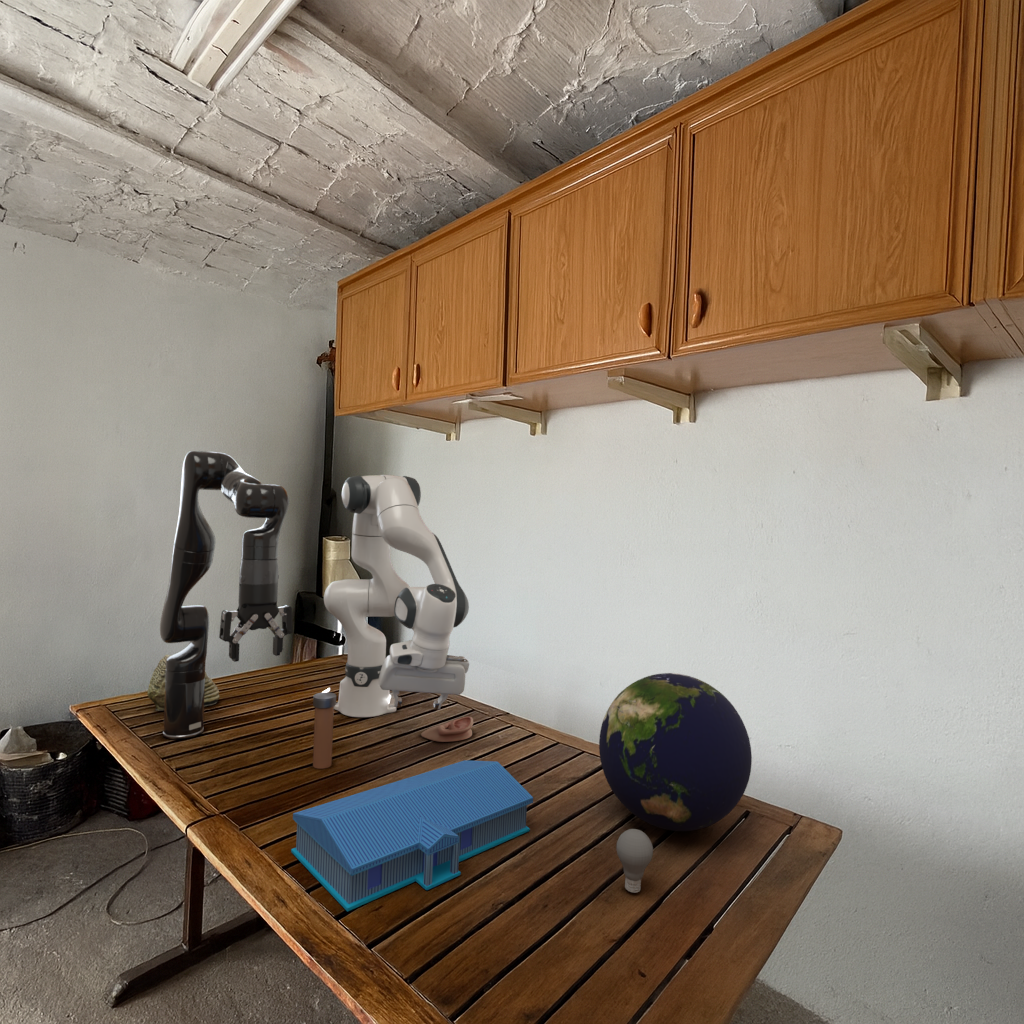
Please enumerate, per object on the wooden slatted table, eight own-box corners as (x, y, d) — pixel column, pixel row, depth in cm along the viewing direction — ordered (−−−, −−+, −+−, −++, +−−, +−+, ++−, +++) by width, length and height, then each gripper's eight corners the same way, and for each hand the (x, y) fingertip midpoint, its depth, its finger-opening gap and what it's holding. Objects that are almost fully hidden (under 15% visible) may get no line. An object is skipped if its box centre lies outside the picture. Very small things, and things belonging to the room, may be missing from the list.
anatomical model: (417, 724, 167) (431, 710, 178) (416, 739, 167) (430, 724, 178) (465, 730, 164) (477, 715, 176) (465, 745, 165) (476, 730, 176)
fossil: (144, 707, 182) (145, 655, 182) (212, 696, 194) (213, 647, 194) (151, 716, 175) (153, 662, 175) (221, 703, 188) (223, 653, 188)
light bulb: (610, 879, 108) (613, 822, 108) (644, 879, 109) (647, 822, 109) (619, 902, 102) (622, 840, 102) (655, 901, 103) (658, 840, 103)
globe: (578, 839, 121) (585, 683, 120) (614, 778, 149) (620, 651, 148) (744, 881, 110) (753, 709, 109) (749, 806, 137) (756, 669, 137)
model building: (357, 922, 95) (360, 856, 95) (289, 850, 113) (292, 795, 113) (542, 837, 121) (544, 785, 121) (463, 790, 139) (465, 745, 139)
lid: (333, 700, 153) (333, 691, 153) (338, 707, 148) (338, 697, 148) (311, 702, 150) (311, 693, 150) (315, 709, 146) (315, 700, 146)
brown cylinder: (329, 760, 152) (332, 693, 152) (333, 767, 148) (336, 699, 148) (311, 762, 150) (313, 695, 150) (314, 770, 147) (317, 701, 146)
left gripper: (284, 576, 139) (281, 649, 139) (216, 579, 129) (213, 658, 130) (299, 580, 134) (296, 656, 134) (230, 584, 124) (227, 667, 124)
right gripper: (468, 651, 154) (456, 702, 157) (384, 644, 148) (373, 697, 150) (473, 663, 148) (461, 716, 151) (386, 656, 142) (375, 711, 144)
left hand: (256, 657), depth 132 cm, fingers open, 8 cm apart
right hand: (417, 707), depth 151 cm, fingers open, 8 cm apart
